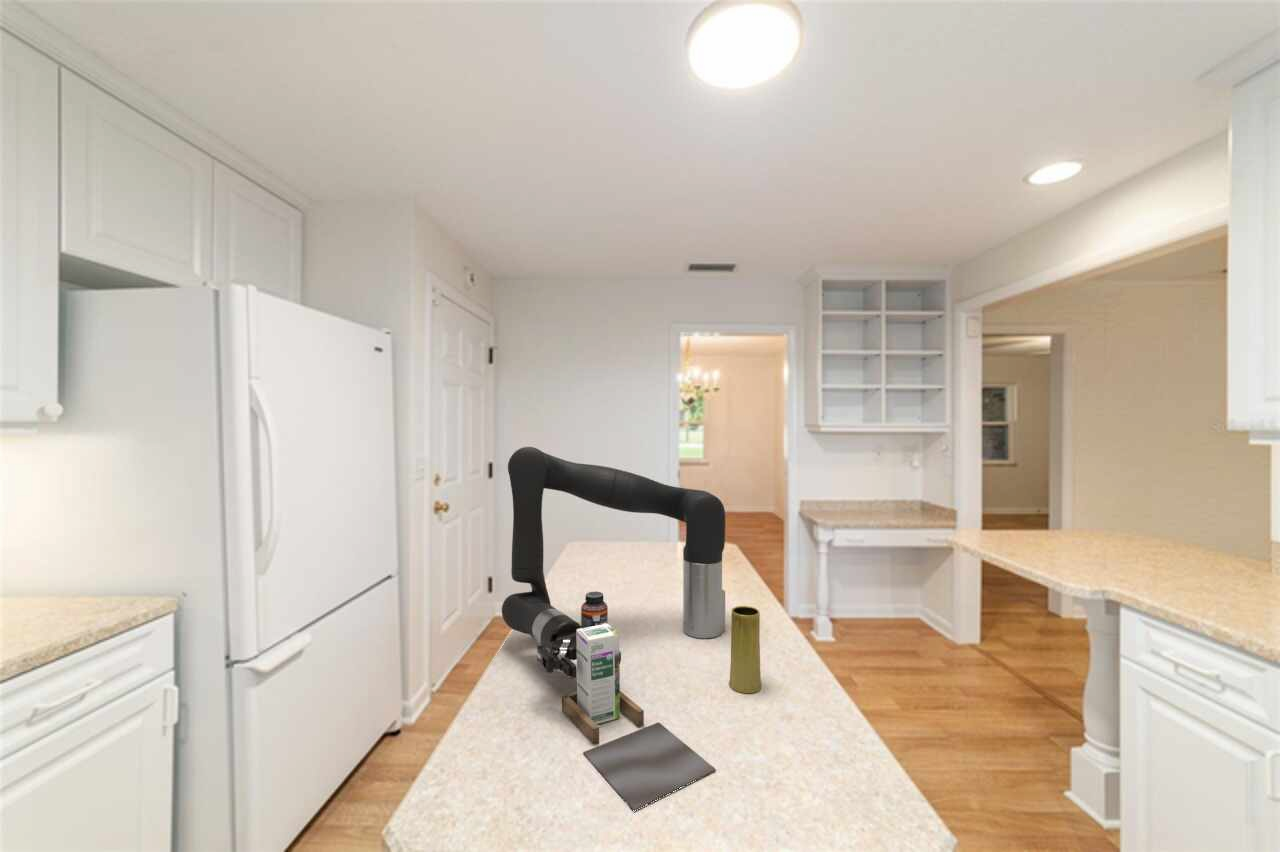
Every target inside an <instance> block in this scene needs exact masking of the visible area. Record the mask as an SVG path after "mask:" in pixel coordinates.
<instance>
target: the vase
mask: <svg viewBox="0 0 1280 852" xmlns="http://www.w3.org/2000/svg"><path fill="white" fill-rule="evenodd" d="M760 613H761V612H760V610H759V609H758V608H756V607H753V606H749V605H739V606H735V607H732V609H731V617H730V619H731V623H730V624H731V628H730V629H731V630H730V631H731V633H730V669H729V670H730V672H729V674H730V675H729V681H728V684H729V687H730V688H731V689H732V690H734V691H736V692H739V693H741V694H754V693H758V692H759V691H760V690H761V689H762V687H763V685H762V677H761V643H760V635H761V634H760V632H761V631H760V630H761V629H760V625H761V623H760V620H761V619H760V617H761V615H760Z"/></svg>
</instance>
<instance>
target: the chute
mask: <svg viewBox="0 0 1280 852" xmlns="http://www.w3.org/2000/svg"><path fill="white" fill-rule="evenodd" d="M561 712H562V714H564V716H566V717H567V718H568V719H569V721H570V722H571V723H572V724H573V725H574V726H575V727H576V728H577V729H578V730H579V732H580V733H582V734H583V736H584V737H585V738H586V739H587V740H588V741H589V742H590V743H591V744H592V745H593V746H594V747H592V748H590V749H588V750H585V751H583V755H584V757H585V758H586V759H587V760H588V762H590V763H591V765H592V766H593V767H594V768H595V770H597V772H598V773H599V774H600V775H601V776H602V777H603V779H604V780H605V781H606V782H607V783H608V784H609V785H610V786H611V788H612V787H613V788H612V789H613V790H614V792H616V794H617V795H620V796H621V797H622V798H623V799H624V800H623V799H622V798H621V797H620V796H619V797H620V798H621V799H622V800H623V801H624V803H626V802H627V804H628V805H629V806H630V807H631V808H632V809H633V810H634V811H635V810H637V809H639V808H641V807H643V806H645V805H646V804H649V803H651V802H653V801H655V800H657V799H659V798H662V797H663V796H666V795H667V794H669V793H672V792H673V791H675V790H677V789H679V788H680V787H683V786H686V785H687V784H689V783H691V782H693V781H695V780H698V779H700V778H702V777H704V776H706V777H708V776H709V775H708V774H710V773H712V772H714V771H716V772H717V769H716V768H715V767H714V766H713V765H712V764H710V763H709V762H708V761H707V760H705V759H704V758H703V757H701V756H700V755H699V754H698V753H697V752H695V750H694V749H692V748H691V747H690V746H689V745H687V744H686V743H685V742H683V741H682V740H681V739H680V738H679V737H677V736H676V735H675V734H674V733H673V732H671V730H669V729H668V728H666V727H665V726H664V725H663V724H662V723H661V722H655V723H652V724H650V725H648V726H645V724H644V723H645V713H644V712H645V711H644V709H643V708H642V707H641V706H640V705H638V704H637V703H635V702H634V700H632V699H631V698H630V697H628V696H627V695H626V694H625V693H624V692H622V691H621V690H620V713H622V714H623V715H624V716H625V717H626V718H627V719H629V720H630V721H631V722H632V723H633V724H634V725H635V726H637V727H638V728H641V727H643V726H645V727H643V728H641V729H638V730H635V731H632V732H630V733H628V734H625V735H623V736H620V737H618V738H615V739H612V740H611V741H608V742H605V743H603V744H600V727H599V724H596V723H595V722H594V721H593V720H592V719H591V718H590V717H589V716H588V715H587V714H586V713H585V712H584V711H583V710H582V709H581V708H580V707H579V706H578V705H577V691H574V692H572V693H568V694H565V695H562V696H561ZM598 744H600V745H598ZM595 745H597V746H595ZM714 773H715V772H714ZM712 774H713V773H712ZM707 775H708V776H707ZM710 775H711V774H710ZM704 778H705V777H704ZM702 779H703V778H702ZM700 780H701V779H700ZM698 781H699V780H698ZM686 787H687V786H686ZM672 794H673V793H672ZM666 797H667V796H666ZM662 799H663V798H662ZM627 804H626V805H627ZM628 805H627V806H628ZM629 806H628V807H629ZM630 807H629V808H630ZM631 808H630V809H631ZM632 809H631V810H632ZM633 810H632V811H633Z"/></svg>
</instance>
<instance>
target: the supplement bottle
mask: <svg viewBox="0 0 1280 852" xmlns="http://www.w3.org/2000/svg"><path fill="white" fill-rule="evenodd" d="M580 609H581V610H580V619H581V620H580V625H581V627H582V628H587V627H592V626H597V625H602V624H605V623H607V624H608V622H609V621H608V617H609V616H608V615H609V614H608V612H609V611H608V604H607V603H606V602H605V601H604V593H603V592H602V591H589V592H587V593H585V602H583V603H582V604H581V607H580Z"/></svg>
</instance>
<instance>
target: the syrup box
mask: <svg viewBox="0 0 1280 852" xmlns="http://www.w3.org/2000/svg"><path fill="white" fill-rule="evenodd" d="M576 638H577V659H576V668H577V676H576V688H577V689H576V692H577V705H578V706H579V707H580V708H581V709H582V710H583V711H584V712H585V713H586V714H587V715H588V716H589V717H590V718H591V719H592V720H593V721H594V722H595V723H596V724H597V725H599V724H602V723H603V724H604V723H606V722H610V721H613V720H618V719H620V717H621V711H620V691H621V688H620V687H621V685H620V684H621V683H620V681H621V680H620V675H621V671H620V670H621V669H620V667H621V666H620V665H621V661H620V662H619V660H620V659H619V651H620V633H619V632H618V631H617V630H616V629H615V628H614V627H613V626H611V625H610V624H608V622H607V623H605V624H602V625H597V626H592V627H587V628H580V629H577V631H576Z"/></svg>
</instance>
